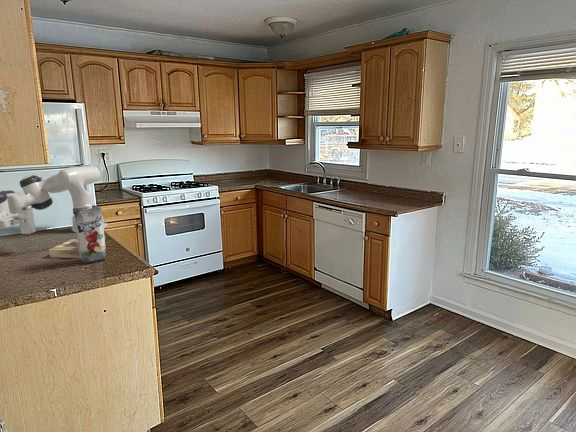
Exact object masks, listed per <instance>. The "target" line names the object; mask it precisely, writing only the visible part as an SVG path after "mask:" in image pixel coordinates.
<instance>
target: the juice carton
mask: <svg viewBox="0 0 576 432" xmlns="http://www.w3.org/2000/svg"><path fill="white" fill-rule="evenodd" d="M101 210H102V208H101V207H100V206H98V205H96V204H95V205H94V204H93V205H90V204H88V205H85V207H76V208H74V213H75V224H76V232H75V233H76V237H77V239H76V240H78V248H79V254H80V257H81V258H80V259H81V261H82V262H83V263H84V264H85V265H89V264H95V263H99V262H102V261H103V262H104V261H105V260H106V256H107V255H106V254H107V251H106V250H107V249H106V241H105V240H106V238H105V239H104V231H105V229H104V230H103V222H104V220H103V221H102V216H103V215H102V211H101Z"/></svg>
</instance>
